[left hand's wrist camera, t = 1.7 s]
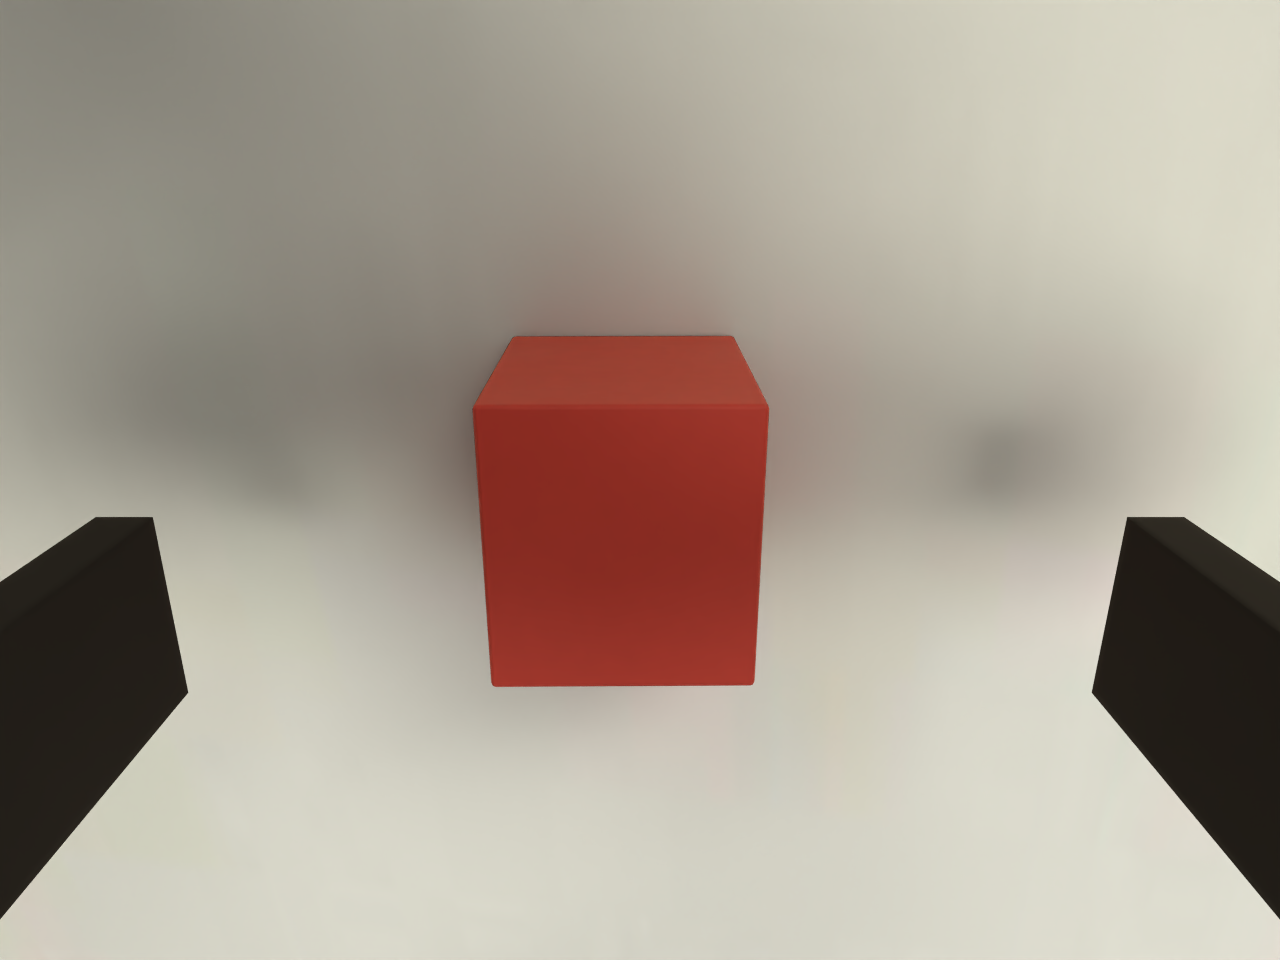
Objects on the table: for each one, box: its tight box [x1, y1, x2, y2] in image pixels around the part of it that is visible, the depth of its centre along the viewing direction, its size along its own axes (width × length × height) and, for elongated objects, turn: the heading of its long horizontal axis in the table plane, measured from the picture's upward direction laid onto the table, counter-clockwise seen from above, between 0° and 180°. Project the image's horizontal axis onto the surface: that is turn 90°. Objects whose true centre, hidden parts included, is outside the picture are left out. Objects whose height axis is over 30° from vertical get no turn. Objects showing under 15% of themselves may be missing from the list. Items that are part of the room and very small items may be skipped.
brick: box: [473, 336, 769, 687], centre depth 15 cm, size 4×4×5 cm
